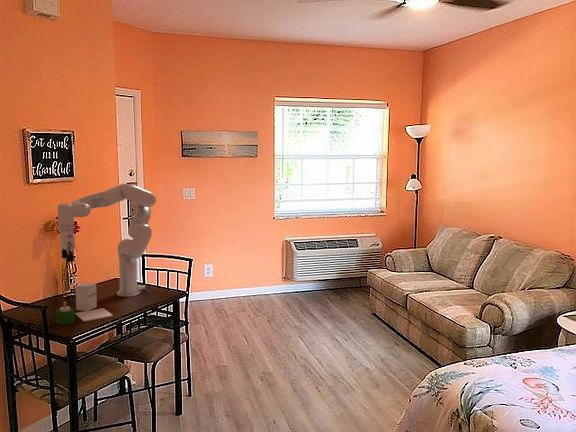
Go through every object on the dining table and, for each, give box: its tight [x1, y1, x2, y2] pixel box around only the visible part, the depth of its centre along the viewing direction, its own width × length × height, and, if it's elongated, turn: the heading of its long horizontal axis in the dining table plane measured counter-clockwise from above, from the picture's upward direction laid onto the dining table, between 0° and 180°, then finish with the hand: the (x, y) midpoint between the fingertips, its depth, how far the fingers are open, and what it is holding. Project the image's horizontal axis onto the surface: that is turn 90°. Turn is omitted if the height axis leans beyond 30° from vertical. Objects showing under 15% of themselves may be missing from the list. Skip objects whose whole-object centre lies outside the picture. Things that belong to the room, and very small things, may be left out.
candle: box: [55, 300, 76, 325], centre depth 238 cm, size 8×8×10 cm
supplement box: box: [75, 282, 98, 312], centre depth 256 cm, size 7×7×13 cm
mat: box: [75, 307, 114, 322], centre depth 248 cm, size 14×13×1 cm
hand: (67, 259), depth 259 cm, fingers open, 9 cm apart
